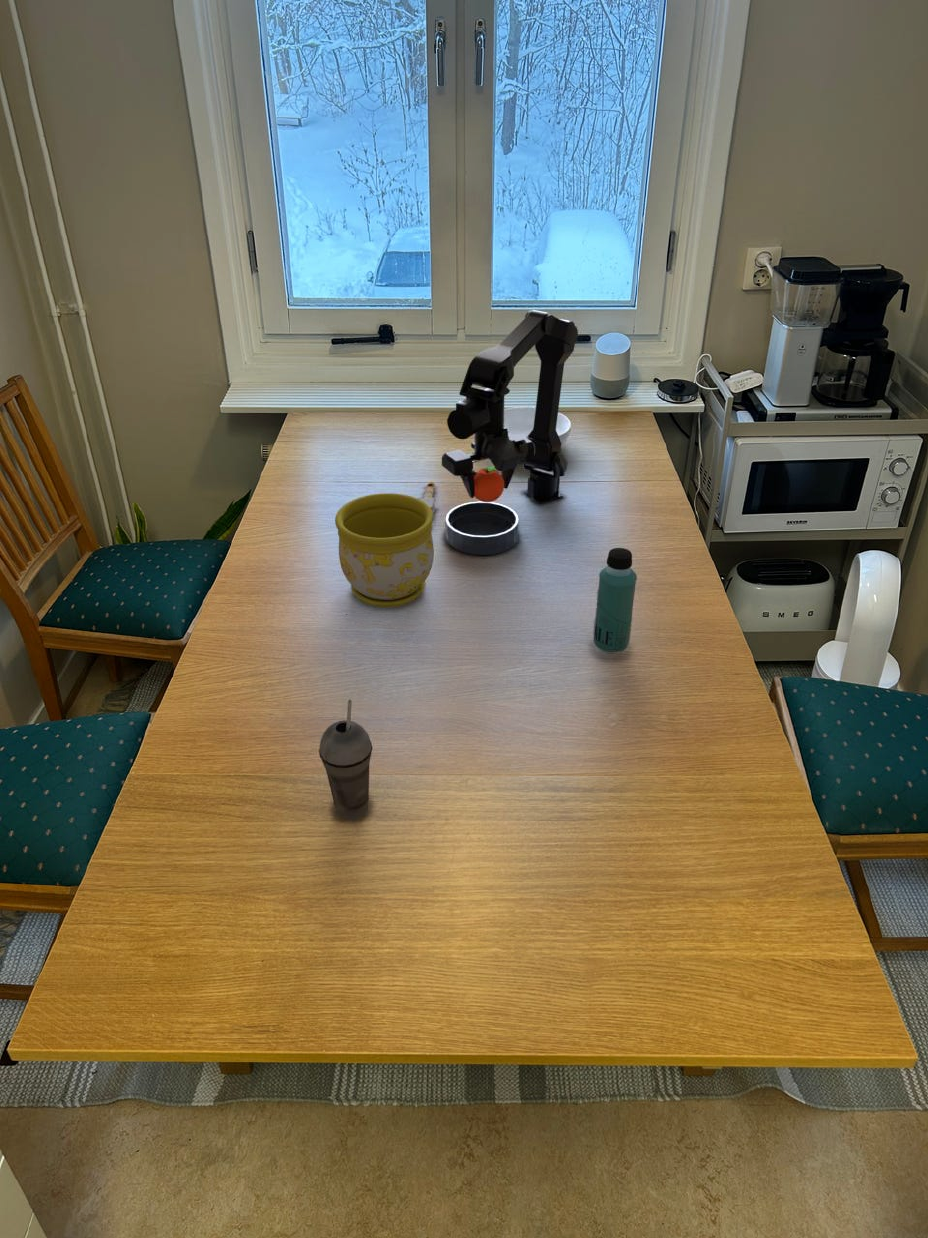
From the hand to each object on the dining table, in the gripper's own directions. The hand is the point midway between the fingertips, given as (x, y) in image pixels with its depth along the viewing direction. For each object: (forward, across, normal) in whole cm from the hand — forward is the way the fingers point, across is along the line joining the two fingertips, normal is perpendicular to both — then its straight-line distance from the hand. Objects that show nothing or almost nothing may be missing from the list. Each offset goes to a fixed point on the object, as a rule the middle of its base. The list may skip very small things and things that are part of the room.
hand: (488, 492), depth 188 cm
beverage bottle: (+11, -2, -44) cm, 45 cm away
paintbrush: (+11, -5, +18) cm, 22 cm away
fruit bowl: (+11, -1, +1) cm, 11 cm away
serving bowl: (+11, +32, +33) cm, 47 cm away
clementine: (+2, 0, 0) cm, 2 cm away
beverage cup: (+11, -57, -56) cm, 80 cm away
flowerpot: (+11, -27, -7) cm, 30 cm away
